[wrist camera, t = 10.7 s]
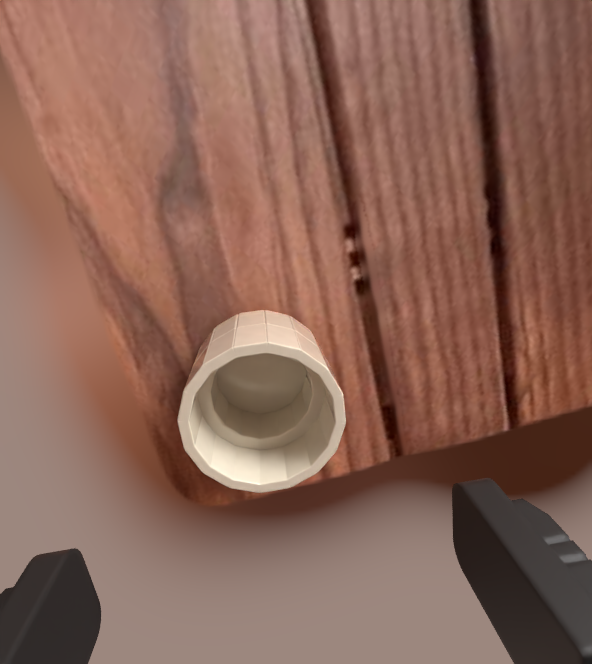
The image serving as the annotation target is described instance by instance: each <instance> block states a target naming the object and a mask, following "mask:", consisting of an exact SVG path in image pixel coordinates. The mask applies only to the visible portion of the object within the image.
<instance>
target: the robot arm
mask: <svg viewBox="0 0 592 664" xmlns="http://www.w3.org/2000/svg"><path fill="white" fill-rule="evenodd" d="M452 506H453V542H454V548H455V552H456V555H457V558H458V561H459V564H460V566H461V569H462V571H463V573H464V574H465V576H466V578H467V580H468V581H469V583H470V585H471V587H472V589H473V591H474V592H475V594H476V596H477V598H478V599H479V601H480V603H481V605H482V607H483V609H484V610H485V612H486V614H487V615H488V617H489V619H490V621H491V623H492V625H493V626H494V628H495V630H496V632H497V634H498V635H499V637H500V639H501V641H502V643H503V644H504V646H505V648H506V650H507V652H508V653H509V655H510V657H511V659H512V660H513V662H514V664H592V561H591V560H588V559H587V557H586V554H585V553H584V552H583V551H582V550H581V549H580V548H579V547H578V546H577V545H576V544H575V542H574V541H570V539H569V536H568V535H567V534H566V533H565V532H564V531H563V530H562V529H561V527H560V526H559V525H558V524H557V523H556V522H555V521H554V520H553V519H552V518H551V517H550V516H549V515H548V514H547V513H545V512H543V511H541V510H540V509H538V508H537V507H535V506H534V505H532V504H530V503H529V502H527V501H525V500H524V499H518V500H512V501H511V500H510V499H509V498H508V497H507V495H506V494H505V493H504V492H503V491H502V490H501V489H500V487H499V486H498V485H497V484H496V483H495V482H494V481H493V480H492V479H490V478H484V479H479V480H472V481H467V482H461V483H456V484H454V485H453V489H452ZM100 623H101V608H100V602H99V599H98V596H97V593H96V591H95V588H94V585H93V583H92V580H91V577H90V575H89V572H88V569H87V567H86V564H85V561H84V558H83V556H82V554H81V552H80V551H79V550H78V549H69V550H63V551H57V552H52V553H46V554H40V555H37V556H35V557H34V558H33V559H32V560H31V561H30V562H29V564H28V565H27V567H26V569H25V570H24V572H23V573H22V575H21V576H20V578H19V579H18V581H17V583H16V584H15V586H14V587H13V588H8V589H5V590H4V591H3V592H2V593H1V594H0V664H88V662H89V659H90V656H91V654H92V651H93V648H94V646H95V643H96V640H97V637H98V634H99V629H100Z"/></svg>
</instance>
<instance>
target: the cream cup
mask: <svg viewBox="0 0 592 664" xmlns="http://www.w3.org/2000/svg"><path fill="white" fill-rule="evenodd" d="M177 420H178V421H177V422H178V427H179V431H180V435H181V439H182V443H183V447H184V449H185V451H186V453H187V454H188V455H189V456H190V458H191V459H192V460H193V461H194V463H195V464H196V465H197V467H198V468H199V469H200V470H201V472H202V473H204V474H205V475H207V476H209V477H210V478H212V479H214V480H216V481H218V482H219V483H221V484H223V485H225V486H226V487H228V488H229V487H230V488H232V489H238V490H244V491H250V492H256V493H263V492H269V491H275V490H281V489H287V488H290V487H293V486H295V485H297V484H298V483H300V482H302V481H304V480H306V479H308V478H309V477H311V476H313V475H315V474H316V473H318V472H319V471H320V469H321V468H322V467H323V466H324V465H325V464H326V463H327V461H328V460H329V459H330V458H331V457H332V456H333V454H334V453H335V452H336V450H337V449H338V446H339V443H340V440H341V437H342V434H343V431H344V428H345V425H346V416H345V406H344V396H343V392H342V390H341V388H340V386H339V384H338V382H337V380H336V378H335V375H334V373H333V371H332V369H331V367H330V365H329V363H328V361H327V359H326V356H325V354H324V352H323V350H322V348H321V347H320V345H319V343H318V342H317V340H316V338H315V337H314V335H313V333H312V332H311V331H310V330H309V329H308V328H307V327H305V326H304V325H302V324H301V323H300V322H298V321H297V320H296V319H294V318H293V317H291V316H289V315H285V314H281V313H277V312H273V311H268V310H265V311H264V310H259V311H252V312H245V313H239V314H237V315H235V316H233V317H231V318H229V319H228V320H226V321H224V322H223V323H221V324H219V325H218V326H216V328H214V329H213V330H212V332H211V333H210V334H209V336H208V337H207V338H206V340H205V341H204V342H203V344H202V345H201V347H200V349H199V351H198V354H197V357H196V359H195V362H194V365H193V367H192V370H191V372H190V375H189V378H188V380H187V383H186V385H185V388H184V391H183V395H182V399H181V404H180V409H179V413H178V418H177Z"/></svg>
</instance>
